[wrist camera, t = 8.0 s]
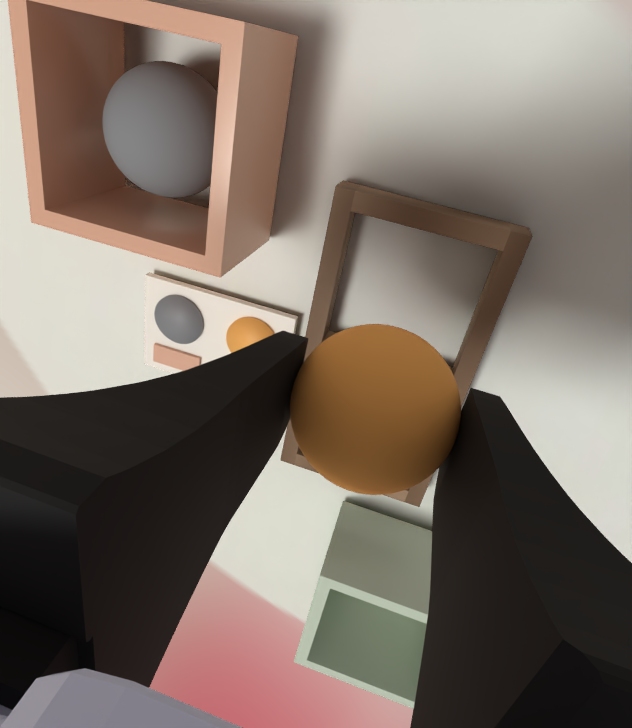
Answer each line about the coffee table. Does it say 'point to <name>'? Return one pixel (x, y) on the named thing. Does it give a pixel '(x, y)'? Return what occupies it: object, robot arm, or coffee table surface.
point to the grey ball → (162, 128)
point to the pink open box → (89, 150)
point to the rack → (427, 218)
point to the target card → (201, 324)
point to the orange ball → (375, 409)
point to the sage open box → (371, 605)
